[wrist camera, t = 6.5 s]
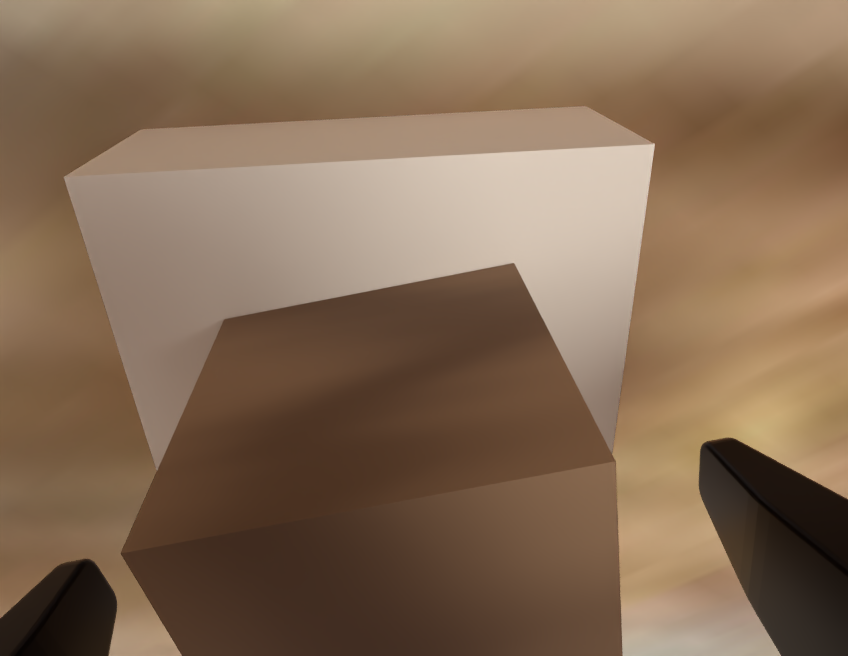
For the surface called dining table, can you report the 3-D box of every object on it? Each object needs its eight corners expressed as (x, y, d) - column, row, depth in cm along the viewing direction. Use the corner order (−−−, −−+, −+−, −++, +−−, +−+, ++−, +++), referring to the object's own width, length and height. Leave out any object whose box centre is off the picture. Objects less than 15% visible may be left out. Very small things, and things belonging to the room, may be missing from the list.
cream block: (579, 102, 13) (654, 143, 10) (553, 438, 18) (598, 551, 14) (147, 125, 13) (63, 177, 9) (229, 464, 17) (193, 586, 14)
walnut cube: (514, 262, 11) (615, 461, 6) (539, 482, 13) (625, 736, 9) (224, 319, 11) (120, 553, 6) (303, 526, 13) (268, 799, 9)
